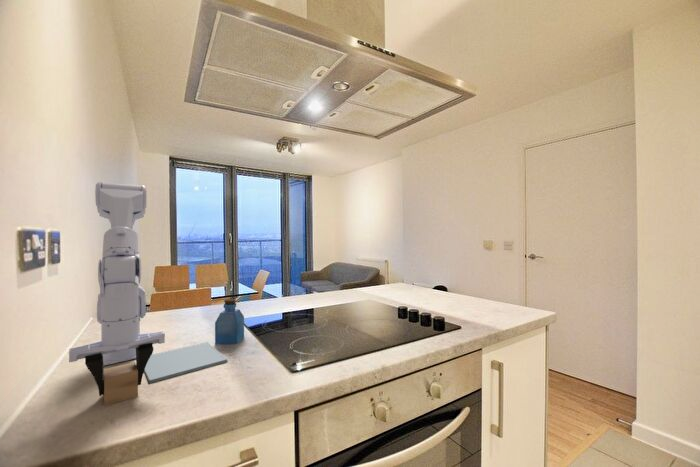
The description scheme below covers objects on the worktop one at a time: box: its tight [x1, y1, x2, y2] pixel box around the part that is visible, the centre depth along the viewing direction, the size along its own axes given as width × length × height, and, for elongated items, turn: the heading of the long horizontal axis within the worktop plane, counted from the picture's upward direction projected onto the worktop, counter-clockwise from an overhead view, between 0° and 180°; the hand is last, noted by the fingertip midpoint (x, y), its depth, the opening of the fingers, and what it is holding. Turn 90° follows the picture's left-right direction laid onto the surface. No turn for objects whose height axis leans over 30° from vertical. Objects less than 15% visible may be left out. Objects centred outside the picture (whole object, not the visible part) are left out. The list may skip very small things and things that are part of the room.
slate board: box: [144, 341, 228, 384], centre depth 74 cm, size 16×16×1 cm
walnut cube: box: [102, 361, 139, 407], centre depth 58 cm, size 5×5×5 cm
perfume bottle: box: [214, 298, 245, 345], centre depth 89 cm, size 6×6×12 cm
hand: (120, 388), depth 58 cm, fingers closed on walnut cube, 5 cm apart
